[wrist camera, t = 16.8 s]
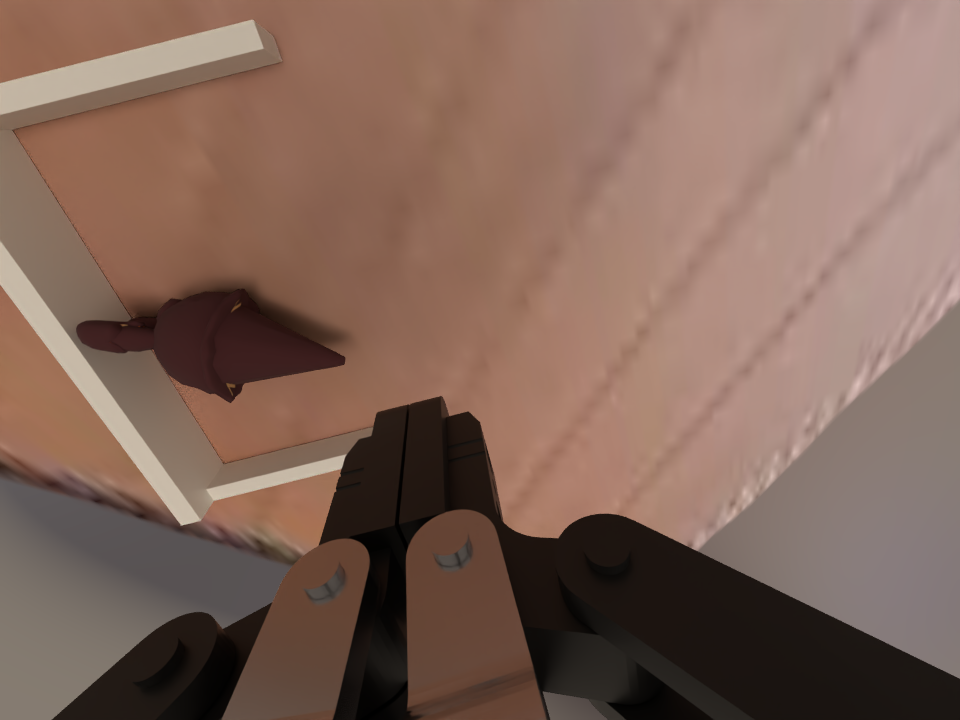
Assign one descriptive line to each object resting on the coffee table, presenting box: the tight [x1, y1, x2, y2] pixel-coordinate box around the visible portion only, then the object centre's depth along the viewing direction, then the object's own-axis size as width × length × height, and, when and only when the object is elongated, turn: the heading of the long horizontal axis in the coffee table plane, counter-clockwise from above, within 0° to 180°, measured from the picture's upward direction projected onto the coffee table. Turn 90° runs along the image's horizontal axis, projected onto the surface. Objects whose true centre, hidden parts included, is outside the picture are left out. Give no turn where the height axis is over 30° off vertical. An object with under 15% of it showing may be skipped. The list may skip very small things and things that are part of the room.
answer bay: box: [0, 20, 373, 525], centre depth 27 cm, size 18×27×5 cm, turn 13°
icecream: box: [76, 289, 345, 403], centre depth 27 cm, size 7×7×15 cm
